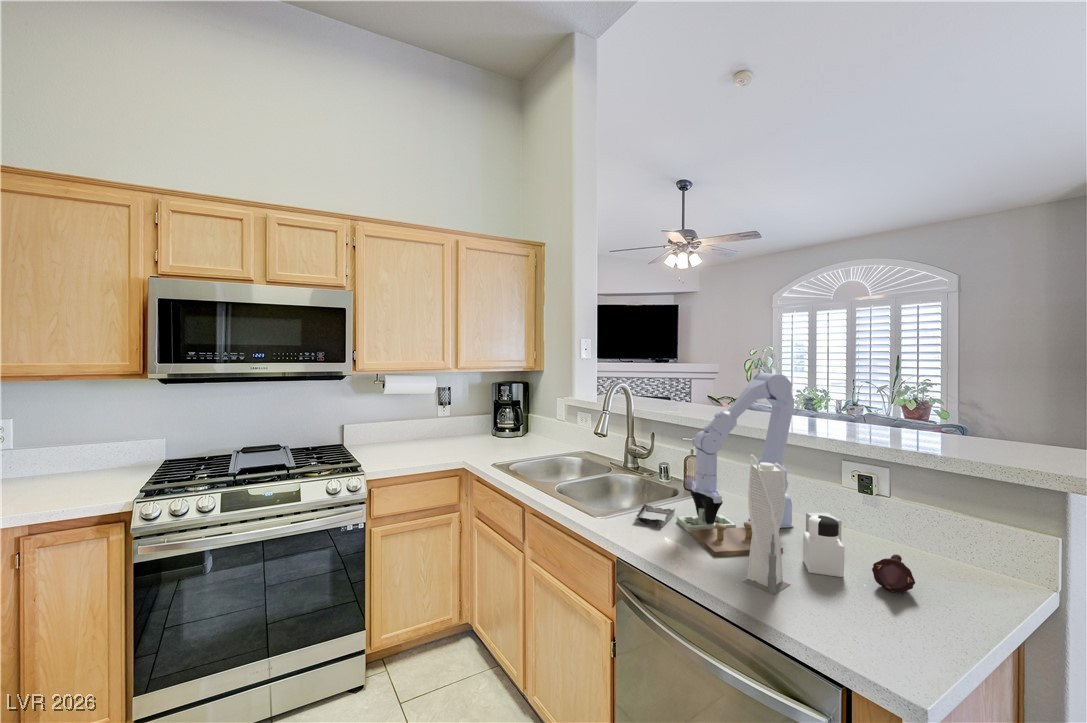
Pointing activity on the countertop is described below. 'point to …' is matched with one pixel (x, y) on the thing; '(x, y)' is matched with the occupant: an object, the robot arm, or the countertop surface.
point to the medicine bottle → (823, 547)
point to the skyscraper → (766, 526)
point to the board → (726, 539)
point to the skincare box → (822, 515)
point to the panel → (703, 525)
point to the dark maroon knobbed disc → (893, 574)
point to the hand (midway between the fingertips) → (705, 519)
